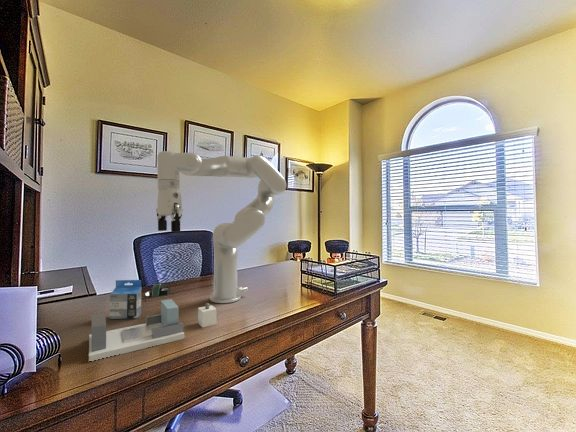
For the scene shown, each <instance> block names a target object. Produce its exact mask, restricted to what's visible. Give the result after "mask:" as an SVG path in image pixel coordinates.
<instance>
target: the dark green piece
mask: <svg viewBox="0 0 576 432" xmlns="http://www.w3.org/2000/svg"><path fill="white" fill-rule="evenodd" d="M174 291H175V290H172V292H171V286H166V285H165V283H164V282H162V281H161V282H160V283H158V284H156V283H155V284H153V286H152V290H151V291H150V292H151V297H153V298H155V297H159V296H161V297H162V298H164V296H165V297H167V296H168V295H169V294H170V292H171V294H172V295H174V294H175V292H174ZM150 292H149V291H147V292H145V296H146V297H149V296H150Z"/></svg>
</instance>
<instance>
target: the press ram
mask: <svg viewBox="0 0 576 432" xmlns="http://www.w3.org/2000/svg"><path fill="white" fill-rule="evenodd" d="M179 309H180V308H179V305H177V304H176V303H175V301H174V300H173V299H172V298H169V299H163V300H162V299H161V300H160V314H161V323H162V325H163V326H166V325H171V324H176V323H180V322H179V320H180V319H179V313H180V312H179V311H180V310H179Z"/></svg>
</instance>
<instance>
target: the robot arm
mask: <svg viewBox="0 0 576 432" xmlns="http://www.w3.org/2000/svg"><path fill="white" fill-rule="evenodd" d="M156 157H157V158H156V159H157V161H156V162H157V164H156V165H157V169H156V170H157V190H158V192H157V193H158V194H157V206H156V207H157V208H155V210H156V216H157V219H156V220H157V231H158V232H161V231H163V232H165V231H167V230H168V224H167V222H168V220H167V217H168V216H170V218H171V222H170V224H171V225H170V227H171V228H170V229H171V230H170V231H171V232H172V233H177V232H179V233H180V231H181V220H182V217H183V210H184V209H183V204H182V201H183V200H182V193H181V190H180V174H182V175H184V176H189V177H190V176H192V177H193V176H194V177H217V178H218V177H220V178H221V177H223V178H224V177H226V178H227V177H230V178H246V179H247V178H248V179H249V178H251V179H253V178H257V177H258V179H259V180H260V181H259V182H258V186H257V195H256V198H254V199H253V200H252V201H251V202H250V203H249V204H247V205H245V207H243V208H242V209H240V210H239V211H238V212H237V213H236V214H235V216H234V220H233V221H232V222H222V223H220V224H217V226H216V227H214V229H213V233H212V244H213V294H211V295H210V296H209V301H210V302H212V303H215V304H230V303H234V302H235V303H236V302H237V301H239V300H241V299H242V297H241V296H242V295H241V293H246V292H248V290H249V288H248V286H245V287H243V286H238V248H239V247H240V246H242V245H244V244H246V242H247V241H249V240H250V239H251V238H252V237H254V236H255V235H256V234H257V233H259V231H261V230H262V228H263V226H264V225H265V223H266V216H267V215H268V214H269V213H270V212H271V210H272V209H273V206H274V203H275V202H274V201H275V200H274V199H275V196H279V195H281V194H283V193H284V192H285V191H286V189H287V182H286V179H285V177H284V176H283V175H282V174H281V173H280V171H278V170H277V168H276V167H275V166H274V165H273V164H272V163H271V162H270V160H268V159H267V158H265V157H264V156H263V155H259V154H258V155H254V156H251V157H243V156H242V157H241V156H232V155H222V156H221V155H220V156H217V157H216V156H215V157H210V158H202V157H200V155H198V154H196V153H194V152H174V151H166V150H163V151H159V152H158V154H157V156H156Z"/></svg>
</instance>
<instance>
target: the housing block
mask: <svg viewBox="0 0 576 432" xmlns="http://www.w3.org/2000/svg"><path fill="white" fill-rule="evenodd" d="M204 304H205V306H200V307H198V308H197V323H198V324H199V326H200V327H201V328H206V327H211V326H215V325H217V315H218V314H217V310H218V309H217V308H216V307H215V306H214V305H212V304H210V303H209V302H206V303H204Z"/></svg>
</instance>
